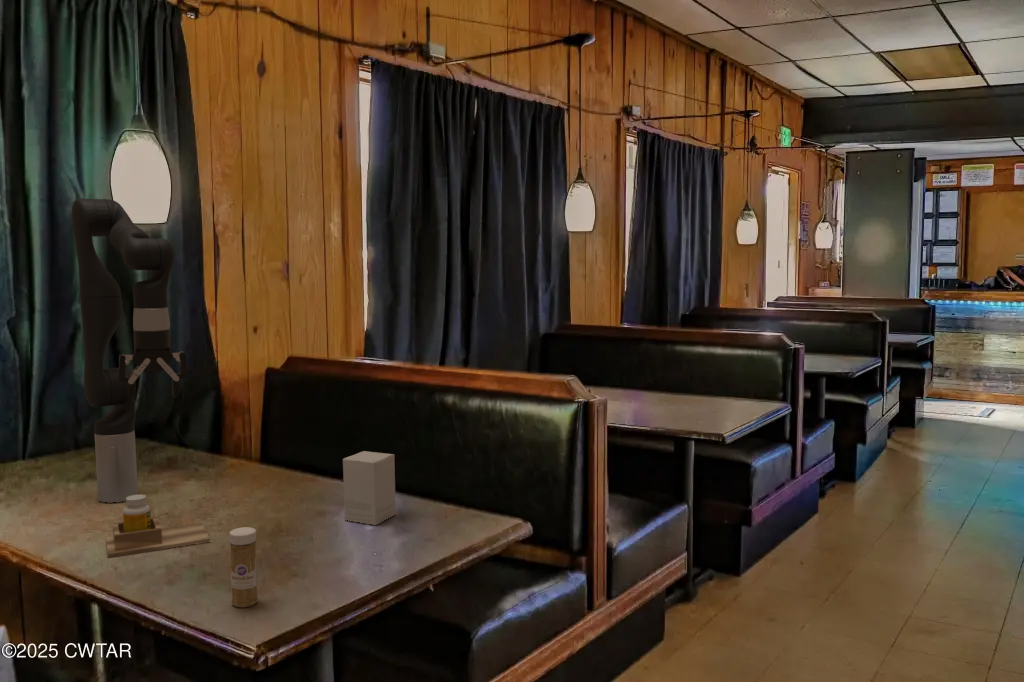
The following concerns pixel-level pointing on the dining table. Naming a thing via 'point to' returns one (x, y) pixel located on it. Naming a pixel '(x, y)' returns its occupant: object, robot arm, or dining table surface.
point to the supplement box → (369, 487)
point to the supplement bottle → (136, 514)
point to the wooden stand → (153, 538)
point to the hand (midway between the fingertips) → (154, 398)
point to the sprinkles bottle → (243, 566)
